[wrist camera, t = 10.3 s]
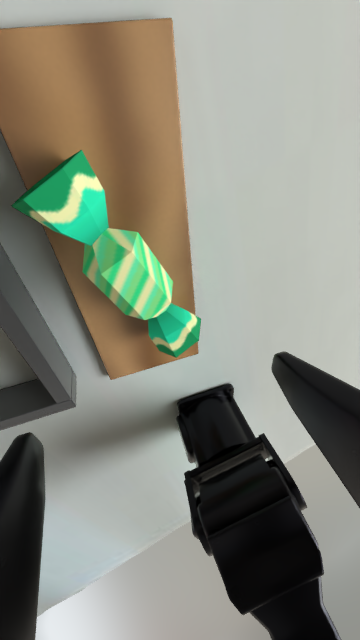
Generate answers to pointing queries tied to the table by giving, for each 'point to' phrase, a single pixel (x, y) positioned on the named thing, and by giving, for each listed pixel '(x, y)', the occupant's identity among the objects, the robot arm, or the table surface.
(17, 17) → the table surface
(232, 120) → the table surface
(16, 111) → the brown wooden board
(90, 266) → the candy
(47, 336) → the dark grey tray
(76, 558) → the table surface
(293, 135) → the table surface
